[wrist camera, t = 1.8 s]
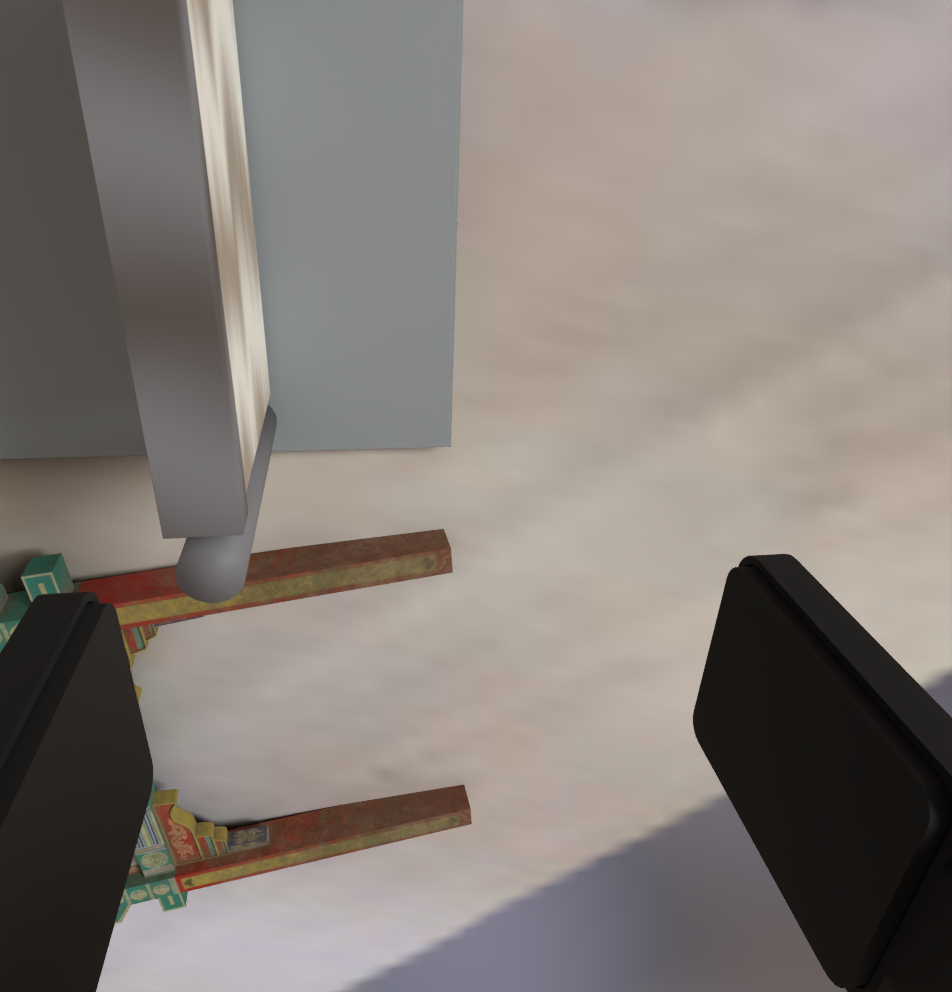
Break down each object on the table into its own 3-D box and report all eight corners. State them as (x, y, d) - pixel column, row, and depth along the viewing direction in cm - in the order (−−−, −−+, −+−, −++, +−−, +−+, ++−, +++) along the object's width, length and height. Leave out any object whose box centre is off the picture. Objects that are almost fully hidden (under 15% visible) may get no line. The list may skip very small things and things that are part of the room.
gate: (154, -96, 21) (8, -247, 12) (234, -89, 21) (152, -231, 12) (219, 394, 28) (158, 538, 19) (278, 393, 28) (247, 534, 19)
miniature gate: (481, 892, 43) (-90, 1038, 37) (461, 813, 47) (-48, 932, 42) (452, 487, 29) (-434, 621, 24) (428, 433, 34) (-317, 536, 29)
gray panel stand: (-110, 451, 29) (-370, 653, 18) (-378, -269, 19) (-1267, -724, 8) (447, 437, 32) (498, 600, 22) (463, -177, 22) (568, -417, 12)
